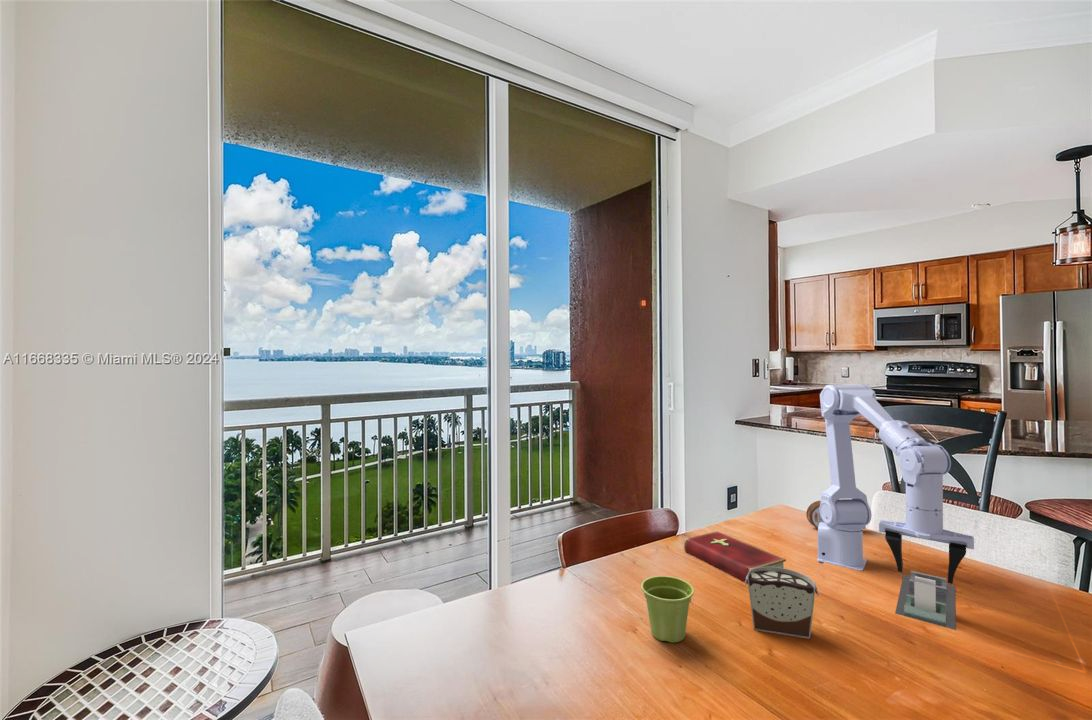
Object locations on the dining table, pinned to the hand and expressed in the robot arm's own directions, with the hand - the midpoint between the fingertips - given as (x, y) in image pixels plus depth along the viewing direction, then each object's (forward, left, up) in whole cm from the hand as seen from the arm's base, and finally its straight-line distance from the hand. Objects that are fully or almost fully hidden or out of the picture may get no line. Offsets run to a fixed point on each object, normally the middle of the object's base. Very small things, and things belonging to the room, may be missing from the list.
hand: (924, 575), depth 93 cm
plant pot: (-36, -38, -8) cm, 53 cm away
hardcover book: (-38, +1, -8) cm, 39 cm away
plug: (0, 0, -7) cm, 7 cm away
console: (0, +7, -8) cm, 10 cm away
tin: (-22, +42, -8) cm, 48 cm away
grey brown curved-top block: (-21, -22, -8) cm, 31 cm away
